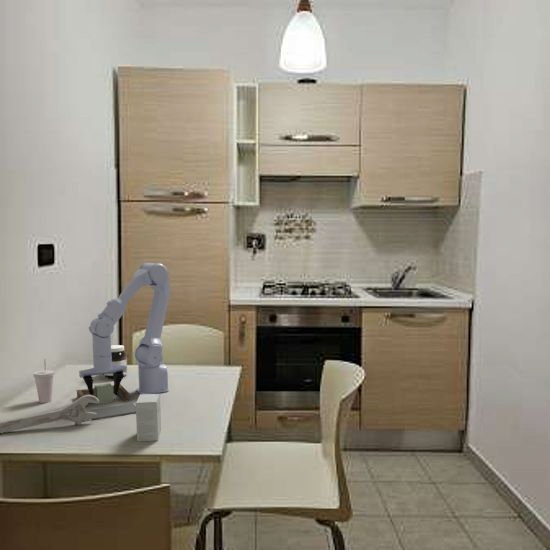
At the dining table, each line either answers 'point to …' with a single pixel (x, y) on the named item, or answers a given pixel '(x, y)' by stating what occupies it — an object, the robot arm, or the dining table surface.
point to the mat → (114, 411)
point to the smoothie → (44, 384)
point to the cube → (104, 392)
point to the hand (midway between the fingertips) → (103, 396)
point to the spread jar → (118, 359)
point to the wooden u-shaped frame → (121, 391)
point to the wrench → (54, 415)
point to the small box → (148, 417)
